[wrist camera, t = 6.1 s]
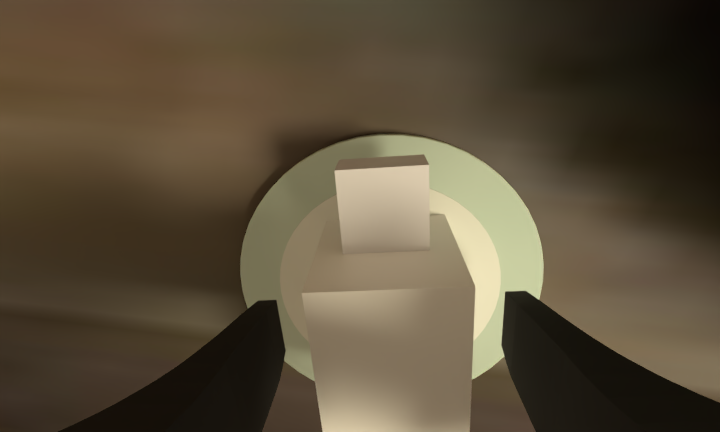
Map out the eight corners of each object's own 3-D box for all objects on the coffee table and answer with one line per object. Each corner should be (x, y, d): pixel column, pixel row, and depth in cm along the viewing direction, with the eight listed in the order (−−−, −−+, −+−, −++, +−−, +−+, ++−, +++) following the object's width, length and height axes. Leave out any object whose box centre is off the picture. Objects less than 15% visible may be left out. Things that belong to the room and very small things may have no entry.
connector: (444, 356, 15) (467, 468, 11) (342, 359, 15) (328, 469, 11) (445, 143, 12) (479, 185, 8) (318, 150, 12) (287, 196, 8)
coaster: (553, 121, 12) (561, 124, 12) (525, 387, 16) (530, 399, 16) (217, 144, 13) (210, 148, 12) (269, 392, 17) (265, 403, 16)
